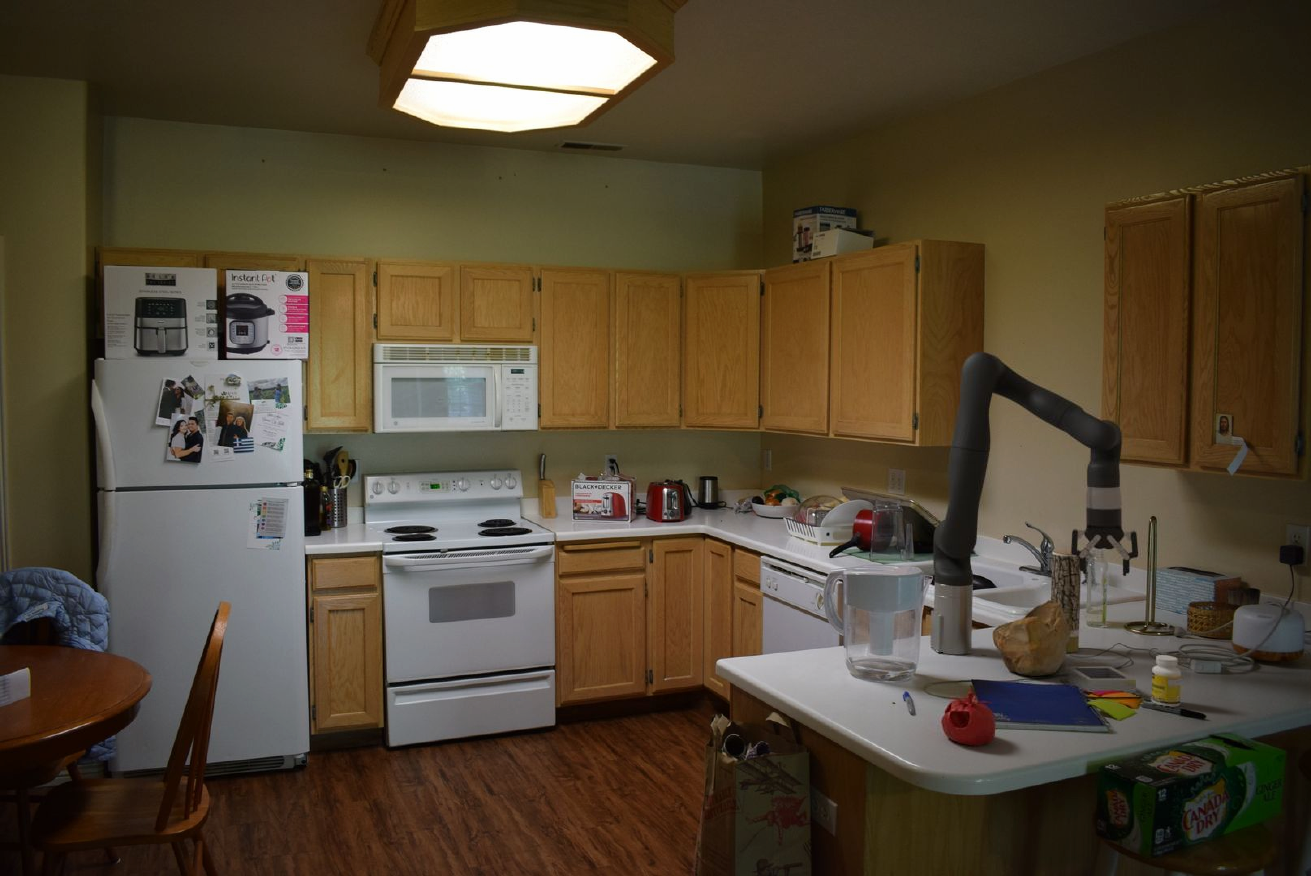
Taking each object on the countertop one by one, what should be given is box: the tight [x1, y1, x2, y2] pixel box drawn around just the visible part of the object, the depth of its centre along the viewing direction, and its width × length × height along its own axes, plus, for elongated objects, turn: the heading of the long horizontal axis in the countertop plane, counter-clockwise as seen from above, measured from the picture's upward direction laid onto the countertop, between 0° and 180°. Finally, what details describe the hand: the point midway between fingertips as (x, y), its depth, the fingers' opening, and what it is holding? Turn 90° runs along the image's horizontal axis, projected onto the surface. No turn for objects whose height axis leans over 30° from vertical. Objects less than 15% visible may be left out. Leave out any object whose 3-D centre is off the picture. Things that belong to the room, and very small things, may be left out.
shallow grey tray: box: [1059, 665, 1142, 698], centre depth 214 cm, size 12×12×4 cm
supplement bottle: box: [1150, 654, 1182, 708], centre depth 204 cm, size 5×5×10 cm
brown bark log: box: [1050, 549, 1082, 654], centre depth 246 cm, size 7×7×25 cm
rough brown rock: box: [992, 599, 1070, 677], centre depth 232 cm, size 23×17×15 cm
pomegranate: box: [940, 690, 996, 747], centre depth 181 cm, size 10×10×9 cm
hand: (1104, 574), depth 228 cm, fingers open, 8 cm apart
